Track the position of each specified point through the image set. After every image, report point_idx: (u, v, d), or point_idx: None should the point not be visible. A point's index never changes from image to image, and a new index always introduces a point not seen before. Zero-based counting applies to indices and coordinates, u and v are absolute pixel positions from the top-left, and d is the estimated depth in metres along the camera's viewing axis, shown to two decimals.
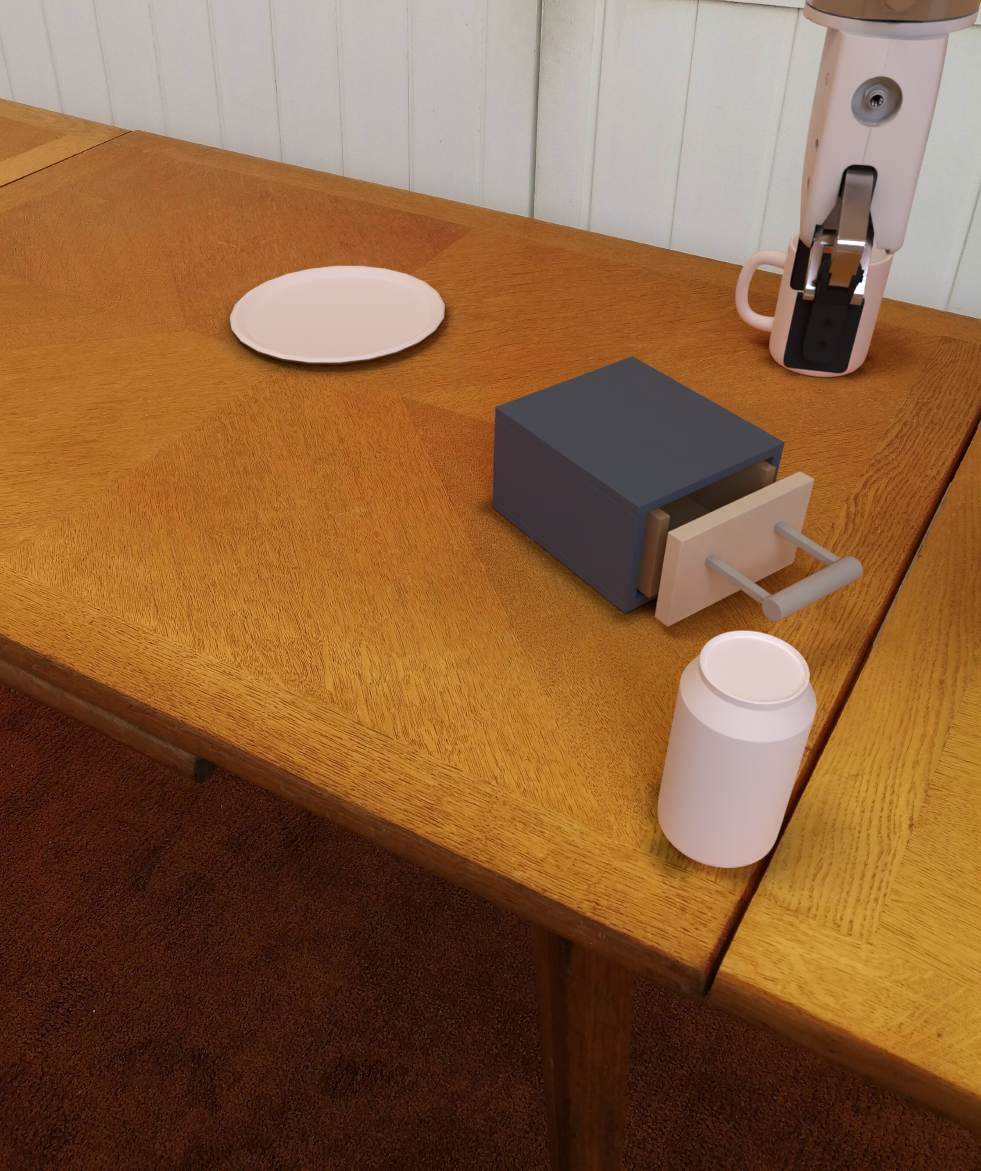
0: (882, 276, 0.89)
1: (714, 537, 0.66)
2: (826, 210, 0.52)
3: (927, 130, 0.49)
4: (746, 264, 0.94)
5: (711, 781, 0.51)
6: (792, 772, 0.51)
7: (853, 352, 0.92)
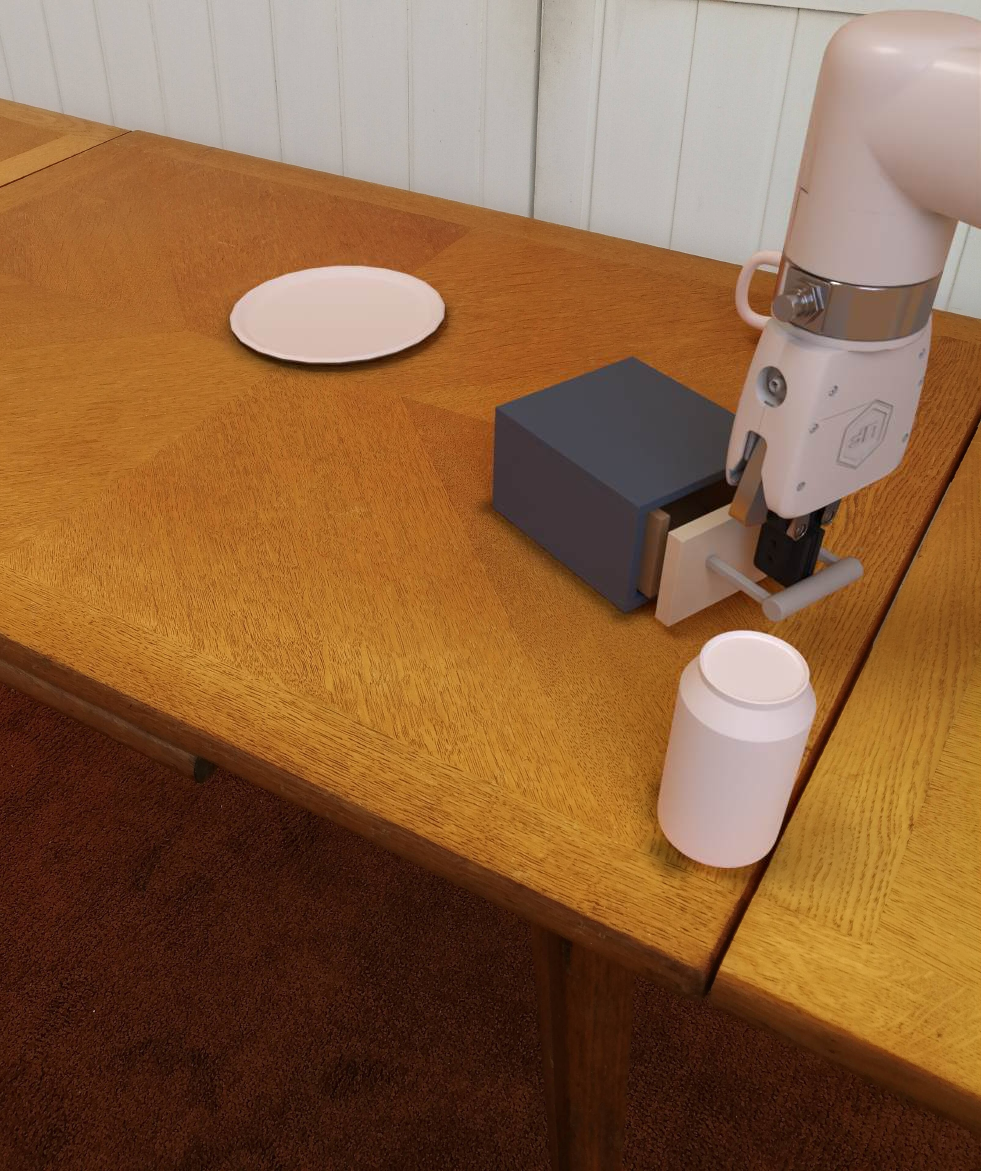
0: None
1: (715, 537, 0.66)
2: None
3: (807, 425, 0.54)
4: (746, 264, 0.94)
5: (711, 781, 0.51)
6: (792, 772, 0.51)
7: None
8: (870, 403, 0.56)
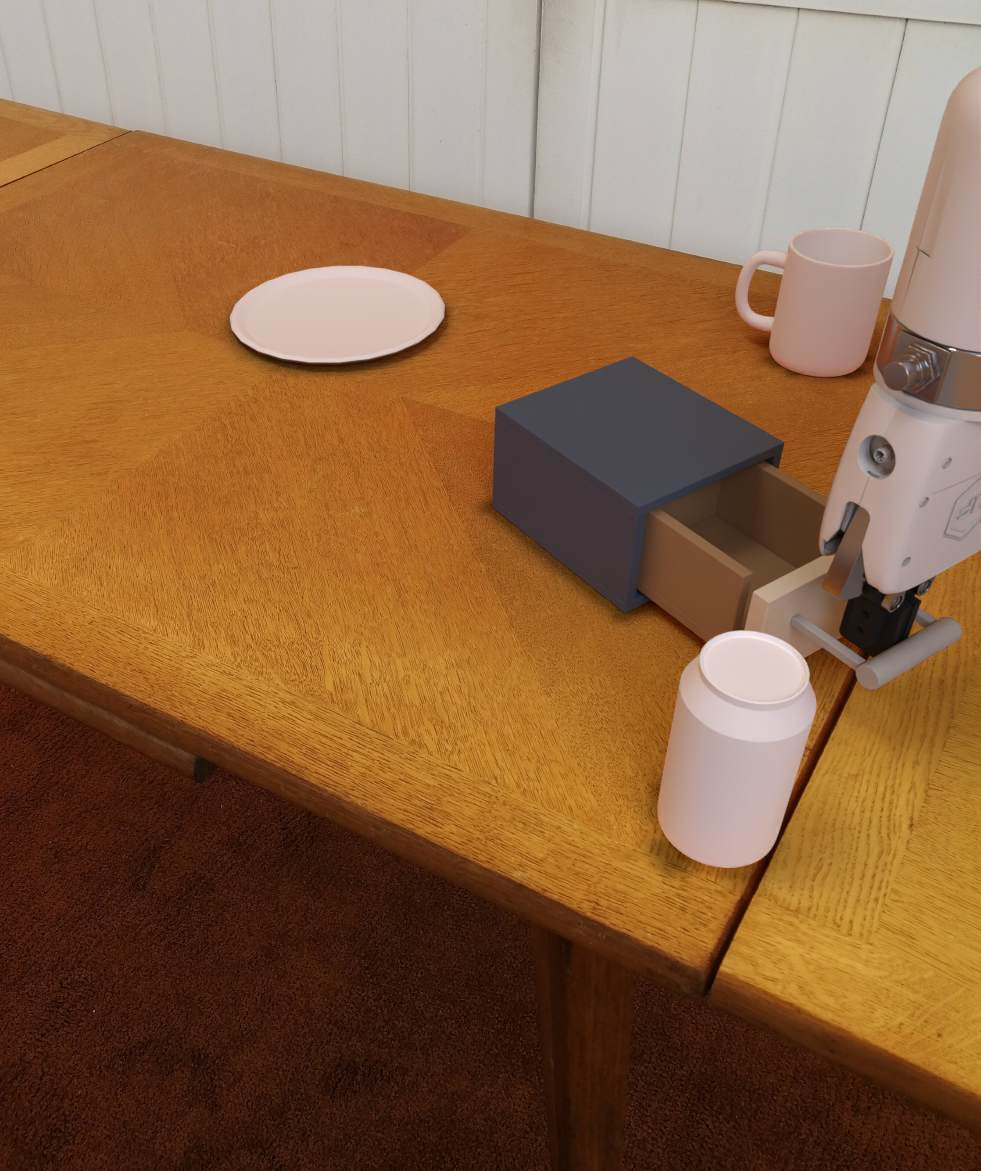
0: (882, 276, 0.89)
1: (801, 596, 0.61)
2: None
3: (917, 499, 0.50)
4: (746, 264, 0.94)
5: (711, 781, 0.51)
6: (792, 772, 0.51)
7: (853, 352, 0.92)
8: None
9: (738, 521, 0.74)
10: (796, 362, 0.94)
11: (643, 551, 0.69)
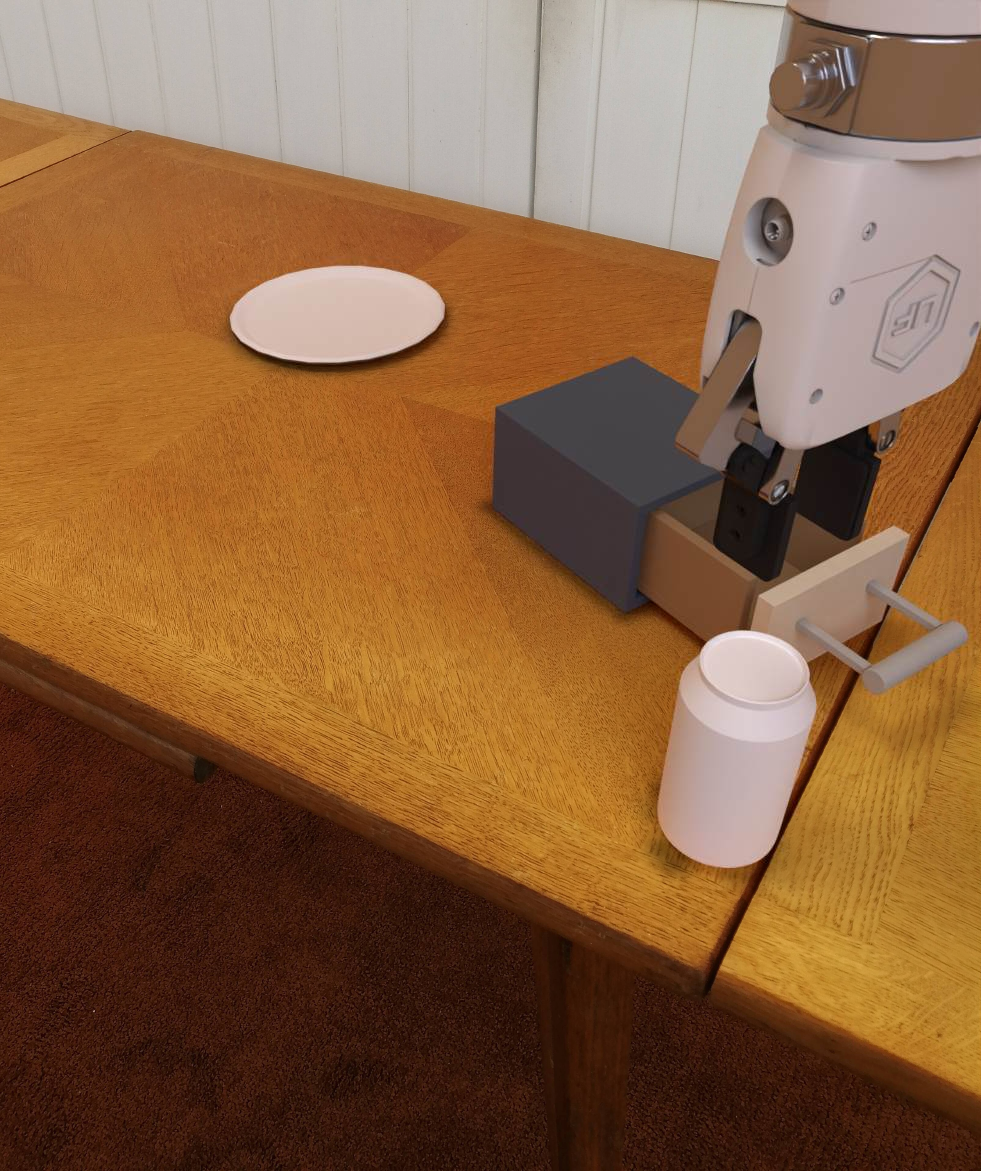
0: None
1: (807, 599, 0.61)
2: None
3: (826, 291, 0.33)
4: None
5: (711, 781, 0.51)
6: (792, 772, 0.51)
7: None
8: (926, 261, 0.35)
9: None
10: None
11: (647, 554, 0.69)
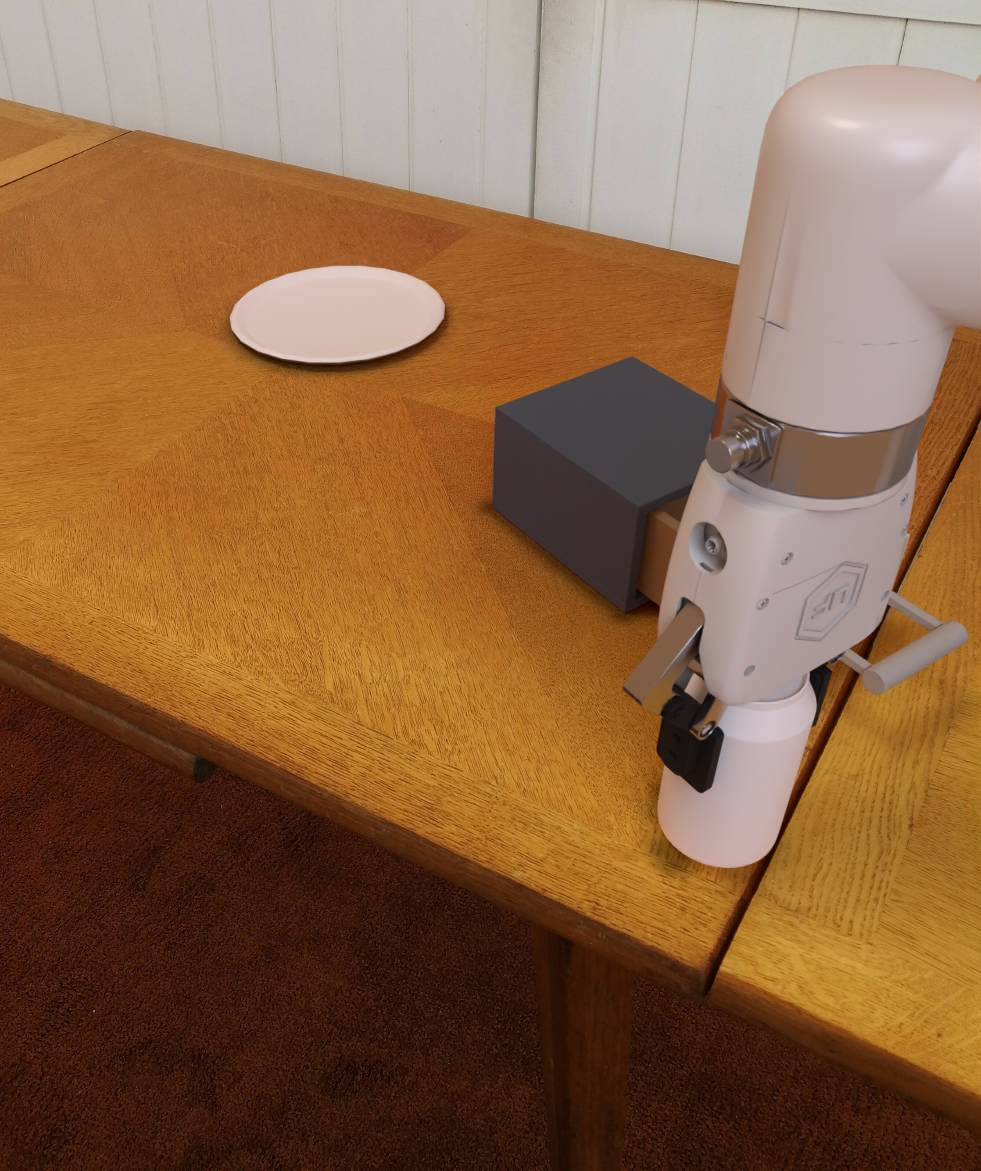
0: None
1: None
2: None
3: (753, 601, 0.41)
4: None
5: None
6: (792, 772, 0.51)
7: None
8: (838, 566, 0.43)
9: None
10: None
11: (647, 554, 0.69)
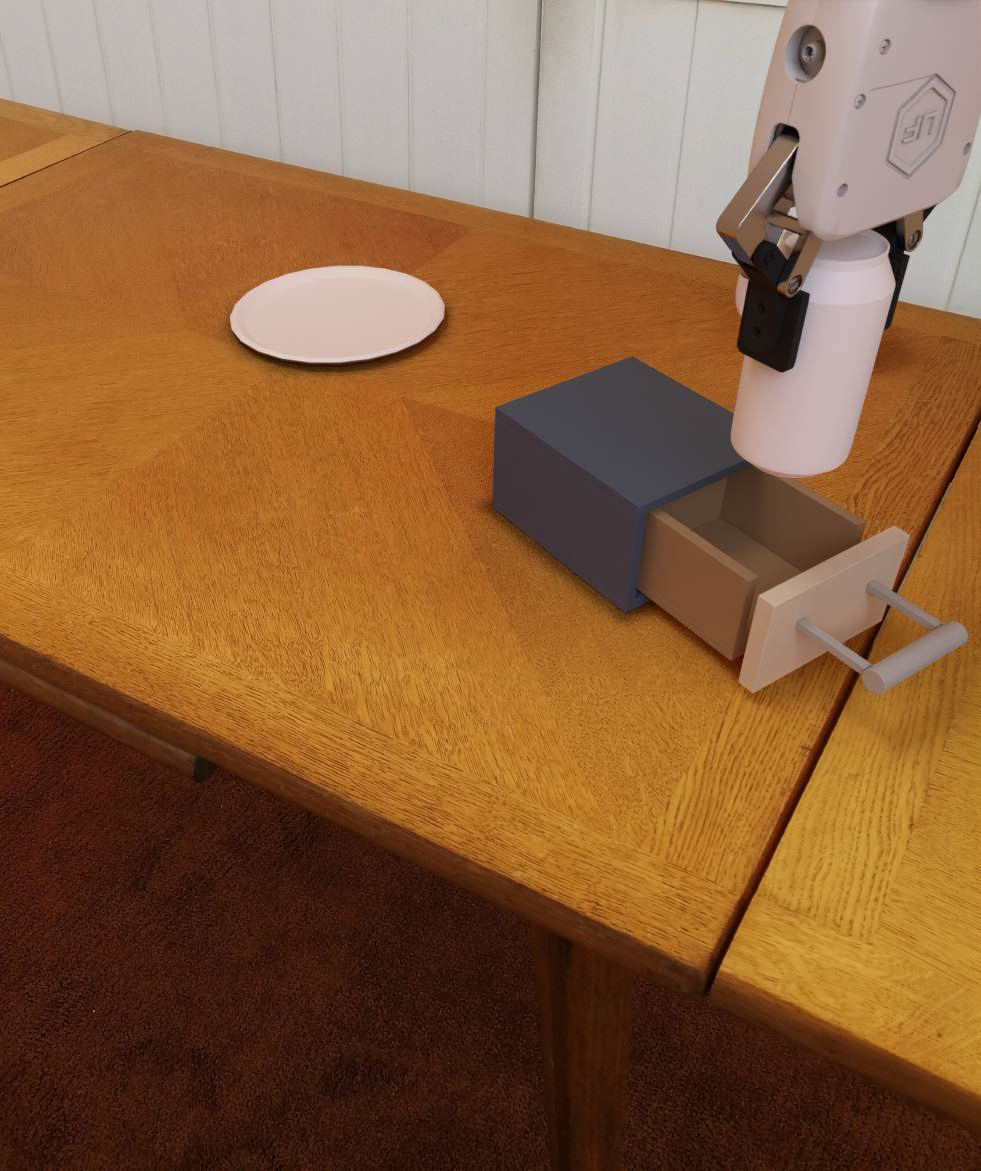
0: None
1: (807, 599, 0.61)
2: None
3: (851, 96, 0.43)
4: None
5: None
6: (871, 354, 0.52)
7: None
8: (929, 79, 0.44)
9: (742, 524, 0.74)
10: None
11: (647, 554, 0.69)
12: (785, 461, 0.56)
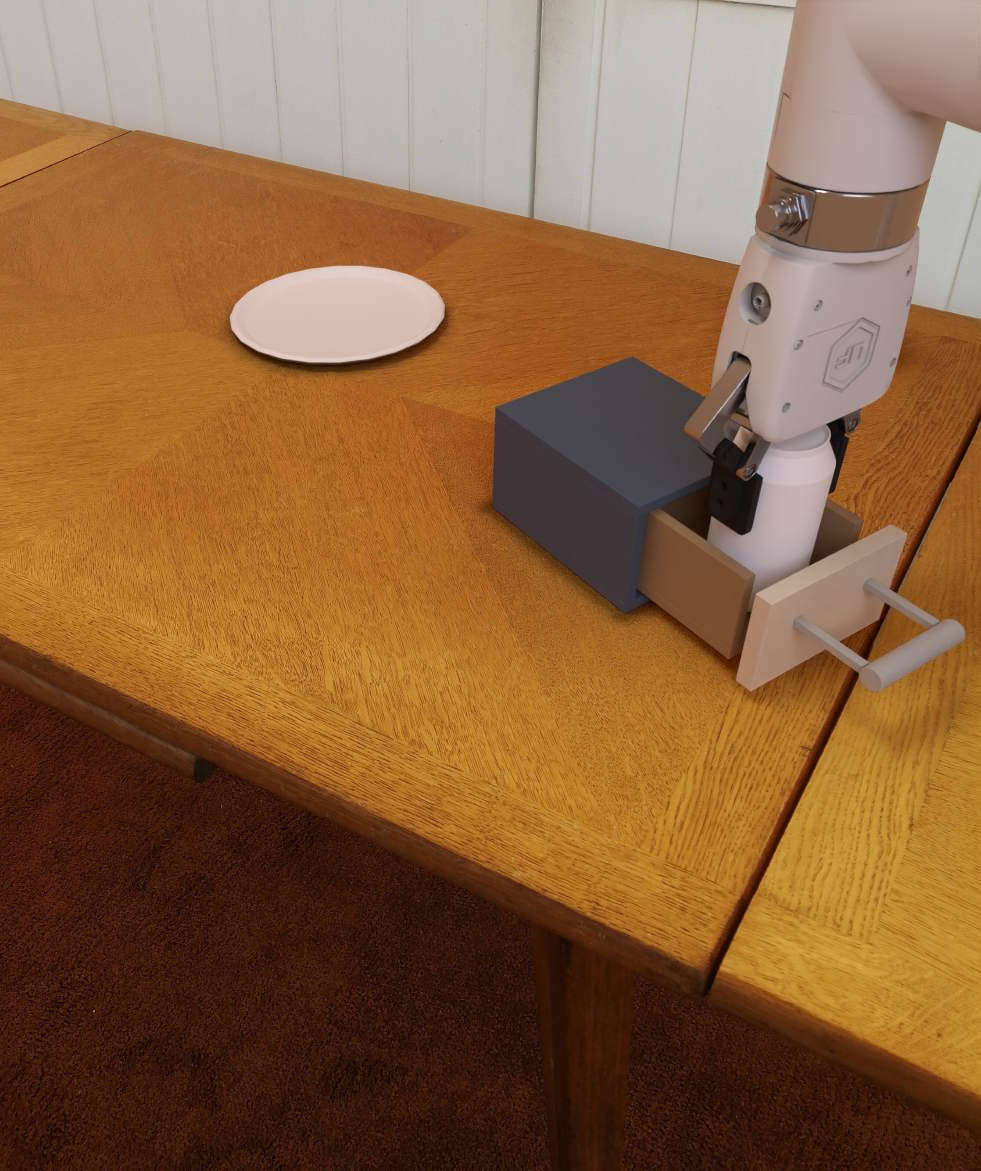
0: None
1: (804, 598, 0.61)
2: None
3: (791, 342, 0.53)
4: None
5: None
6: (815, 520, 0.63)
7: None
8: (856, 321, 0.55)
9: None
10: None
11: (645, 553, 0.69)
12: None
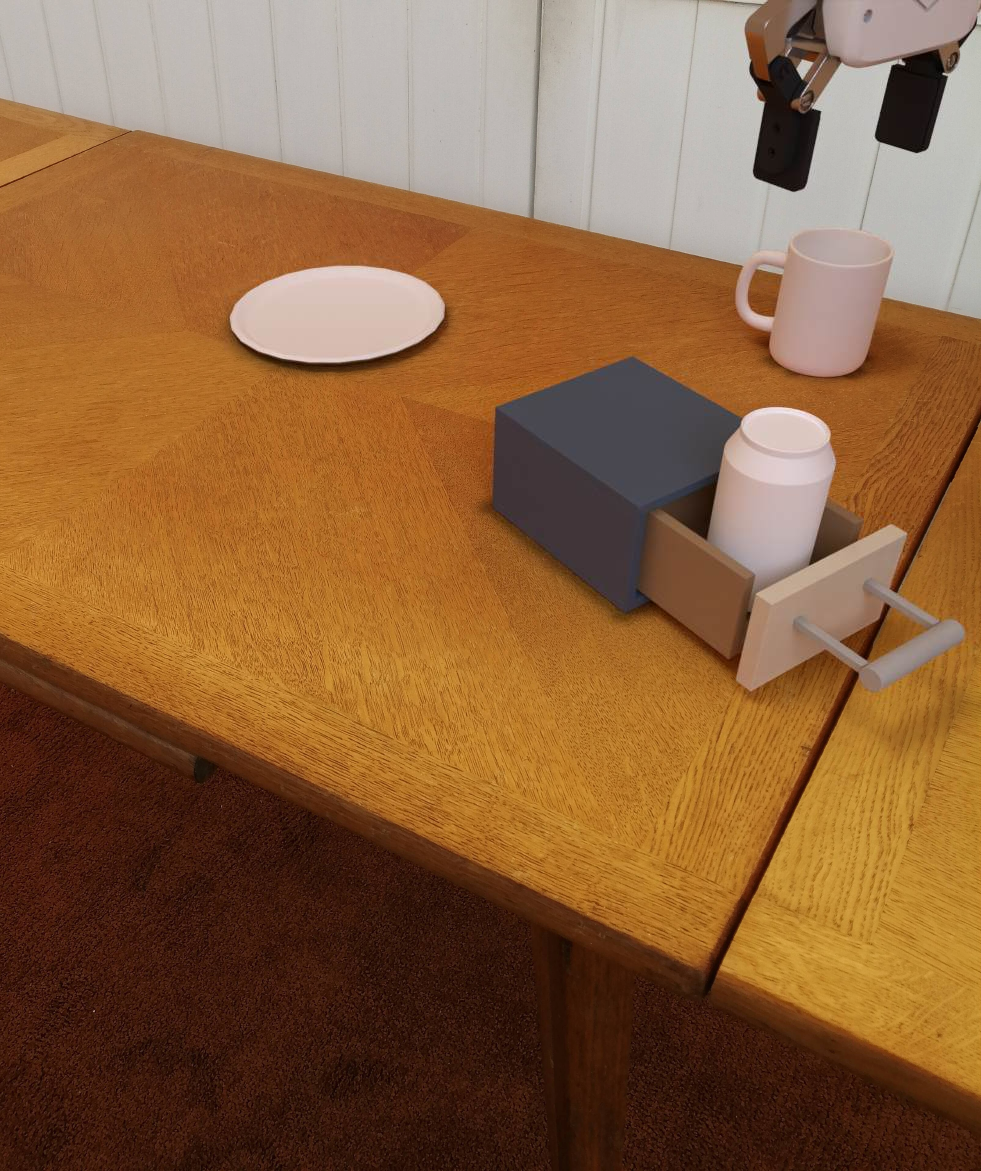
0: (882, 276, 0.89)
1: (804, 598, 0.61)
2: None
3: None
4: (746, 264, 0.94)
5: (750, 528, 0.63)
6: (815, 520, 0.63)
7: (853, 352, 0.92)
8: None
9: None
10: (796, 362, 0.94)
11: (645, 553, 0.69)
12: None
